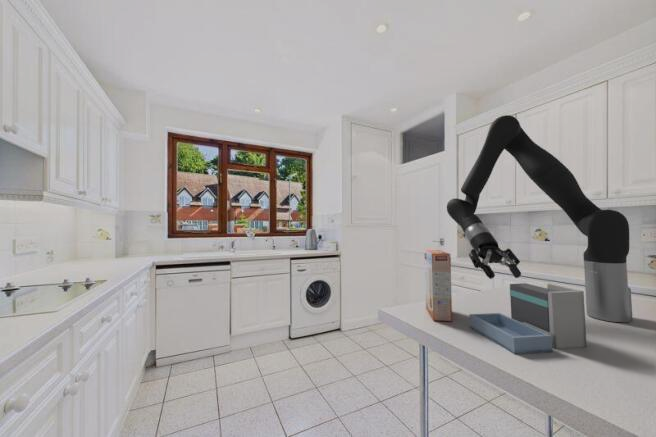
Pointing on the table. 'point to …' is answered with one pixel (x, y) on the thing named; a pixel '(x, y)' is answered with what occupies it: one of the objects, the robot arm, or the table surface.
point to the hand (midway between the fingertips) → (505, 276)
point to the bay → (566, 317)
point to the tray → (511, 333)
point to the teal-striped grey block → (530, 305)
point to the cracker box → (438, 285)
